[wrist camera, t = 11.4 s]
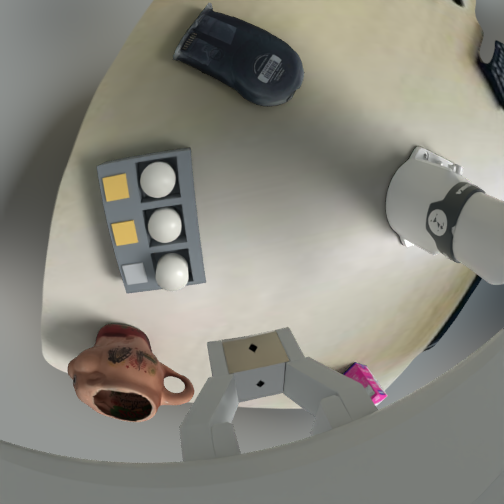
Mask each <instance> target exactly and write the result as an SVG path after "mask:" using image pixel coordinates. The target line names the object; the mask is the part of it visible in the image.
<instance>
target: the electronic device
mask: <svg viewBox="0 0 504 504" xmlns="http://www.w3.org/2000/svg"><path fill="white" fill-rule="evenodd" d="M173 60H176V61H181V62H183V63H185V64H188V65H190V66H192V67H194V68H196V69H198V70H200V71H201V72H202V73H205V74H207V75H209V76H211V77H213V78H215V79H217V80H219V81H220V82H222V83H224V84H226V85H228V86H229V87H231V88H233V89H235V90H236V91H238V93H239V94H240V95H241V96H242V97H243V98H245V99H247V100H248V101H250V102H252V103H255V104H257V105H261V106H276V105H280V104H283V103H285V102H287V101H288V100H289V99H292V97H293V95H294V93H295V91H296V90H297V89H299V88H300V87H301V84H302V81H303V78H304V70H303V66H302V62H301V59H300V57H299V55H298V54H297V53H296V52H295V51H294V50H293V49H292V48H291V47H290V46H289V45H288V44H287V43H285V42H284V41H282V40H281V39H279V38H277V37H276V36H274V35H272V34H271V33H269V32H267V31H265V30H263V29H261V28H259V27H256V26H255V25H252V24H250V23H247V22H245V21H243V20H240V19H238V18H235V17H231V16H228V15H225V14H222V13H218V12H214V11H213V8H212V4H211V3H208V5H207V6H206V7H205V8H204V10H203V11H202V12H201V13H200V15H199V16H198V18H197V19H196V20H195V22H194V23H193V24H192V25H191V27H190V28H189V29H188V30H187V32H186V33H185V34H184V36H183V38H182V39H181V41H180V43H179V45H178V46H177V48H176V50H175V54H174V55H173Z"/></svg>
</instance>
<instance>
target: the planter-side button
mask: <svg viewBox="0 0 504 504" xmlns="http://www.w3.org/2000/svg"><path fill="white" fill-rule="evenodd" d="M156 281H157V283H158V285H159V286H160V287H161V288H163V289H165V290H167V291H178V290H180V289H182V288H183V287H184V286H185V285H186V284H187V282H188V264H187V261H186V260H185V258H184V257H183V256H181V255H179V254H177V253H167V254H165V255H163V256H162V257H161V258H160V259H159V260H158V263H157V269H156Z"/></svg>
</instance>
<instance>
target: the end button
mask: <svg viewBox="0 0 504 504" xmlns="http://www.w3.org/2000/svg"><path fill="white" fill-rule="evenodd" d="M175 180H176V172H175V169H174V167H173V166H172V165H171V164H170V163H169V162H167V161H163V160H157V161H154V162H152V163H150V164H149V165H148V166H147V167H146V168H145V169H144V171H143V172H142V174H141V178H140V184H141V187H142V189H143V191H144V192H145V193H146V194H147V195H149V196H151V197H154V198H161V197H164V196H166V195H168V194H169V193H170V192H171V191H172V189H173V187H174V185H175Z"/></svg>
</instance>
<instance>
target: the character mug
mask: <svg viewBox="0 0 504 504" xmlns="http://www.w3.org/2000/svg"><path fill="white" fill-rule="evenodd" d="M68 374H69V376H70V377H71V378H72V379H73V386H74V388H75V391H76V394H77V396H78V398H79V399H80V400H81V401H82V402H84V403H85V404H87V405H88V406H90V407H91V408H92V409H93V410H95V411H96V412H98V413H100V414H102V415H106V416H109V417H112V418H115V419H119V420H123V421H129V422H141V421H146V420H148V419H150V418H152V417H153V416H154V415H155V414H156V412H157V409H158V407H159V406H160V405H180V404H184V403H186V402H188V401H190V400H191V399H192V397H193V395H194V388H193V385H192V383H191V382H190V380H189V379H188V378H186V377H185V376H183V375H180V374H178V373H176V372H174V371H173V370H172V369H170V368H169V367H167V366H165V365H164V364H162V363H161V362H159V361H158V360H157V358H156V357H155V355H154V354H153V353H152V350H151V346H150V342H149V339H148V337H147V336H146V334H145V333H144V332H142V331H141V330H139V329H137V328H134V327H131V326H127V325H118V324H108V325H105V326H104V327H102V328H101V329H100V330H99V332H98V334H97V338H96V343H95V345H94V347H92V348H89V349H87V350H85V351H83V352H82V353H80V354H79V355H78V356H77V357H76V358H74V359H73V360H72V361H70V363H69V364H68ZM168 376H173V377H176V378H179V379H181V380H182V381H183V383H184V384H185V389H184V391H183V392H181V393H172V392H170V391H168V390H167V389H166V388H165V386H164V378H166V377H168Z"/></svg>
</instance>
